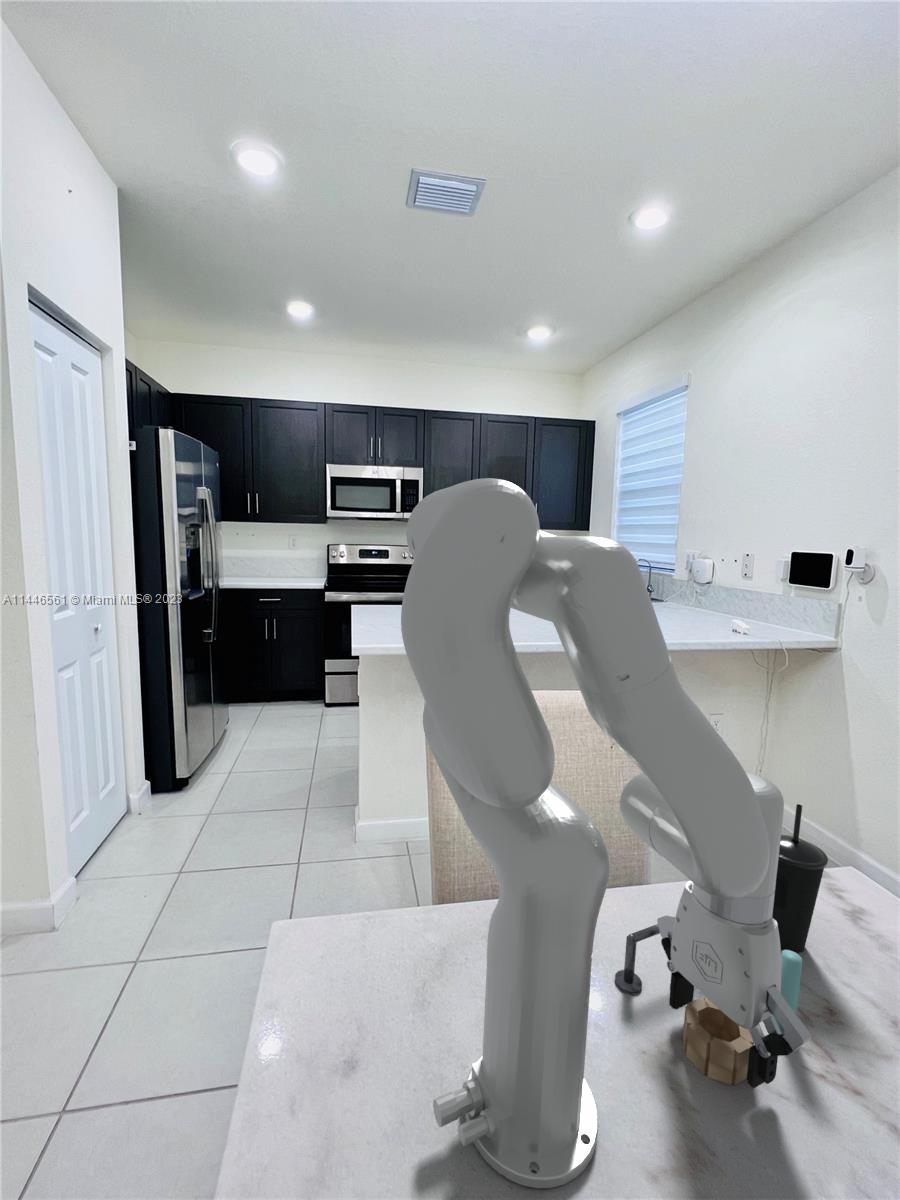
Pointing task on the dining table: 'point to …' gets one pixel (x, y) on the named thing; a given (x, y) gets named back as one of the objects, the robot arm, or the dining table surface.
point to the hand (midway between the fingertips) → (717, 1039)
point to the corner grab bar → (633, 961)
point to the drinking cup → (796, 887)
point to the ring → (716, 1042)
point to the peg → (790, 980)
